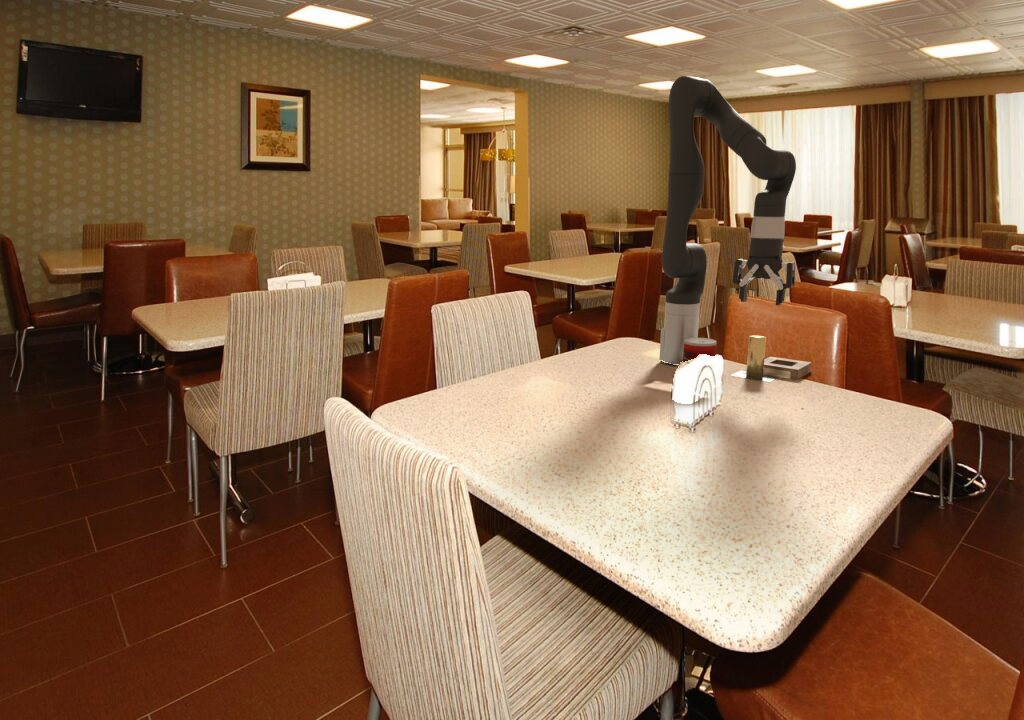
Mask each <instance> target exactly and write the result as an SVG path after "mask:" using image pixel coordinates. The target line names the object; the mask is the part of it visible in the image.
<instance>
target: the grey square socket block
mask: <svg viewBox="0 0 1024 720" xmlns="http://www.w3.org/2000/svg"><path fill="white" fill-rule="evenodd" d="M811 371H812V362H811V361H805V360H798V359H797V360H796V359H790V358H784V357H775V356H769V357H767V358H766V357H765V359H764V370H763V374H764V375H771V376H777V377H779V378H781V379H783V378H784V379H791V380H796V381H797V380H800V379H802V378H803V377H805V376H806V375H808V374H810V373H811Z"/></svg>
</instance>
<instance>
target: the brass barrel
mask: <svg viewBox="0 0 1024 720" xmlns="http://www.w3.org/2000/svg"><path fill="white" fill-rule="evenodd" d="M766 346H767V336H763V335H749V336H748V349H747V360H746V361H747V362H746V376H747V377H750V378H763V370H764V359H766V357H765V356H766V348H767V347H766Z"/></svg>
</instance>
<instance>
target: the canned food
mask: <svg viewBox="0 0 1024 720" xmlns="http://www.w3.org/2000/svg"><path fill="white" fill-rule="evenodd" d="M717 345H718V344H717V340H715V339H712V338H707V337H698V338H688V339H685V340H684V349H683V362H685V361H688V360H691V359H694V358H696V357H697V356H698V355H699V354H707V355H710V356H715V355H716V356H717Z"/></svg>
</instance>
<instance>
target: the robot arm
mask: <svg viewBox="0 0 1024 720" xmlns="http://www.w3.org/2000/svg"><path fill="white" fill-rule="evenodd" d="M668 111H669V112H668V117H669V135H670V136H669V138H670V140H669V141H670V142H669V168H668V180H667V181H668V182H667V183H668V184H667V185H668V187H667V206H666V207H667V209H666V220H665V231H664V238H663V242H662V243H663V244H662V250H661V251H662V252H661V268H662V270H663V273H664V275H666V277H668V278H671V279H678V281H677V283H676V284H675V285H674V286H673V287H672V288H670V289H669V290H668V291H666V294H665V305H664V308H665V309H664V325H663V326H664V327H663V328H662V327H661V329H660V344H659V359H658V360H663V361H665V362H668V363H671V364H680V362H682V361H683V349H684V340H685V339H688V338H699V337H698V336H699V321H700V320H699V319H700V305H701V297H702V295H703V293H704V289H705V282H706V276H707V275H706V274H707V263H708V262H707V261H708V260H707V258H708V257H707V253H706V250H705V248H704V246H702V245H701V244H699V243H693V242H692V243H690V242H689V243H687V235H688V227H689V225H690V222H691V220H692V217H693V215H694V213H695V212H696V209H697V207H698V206H699V204H700V203H701V200H702V199H703V195H704V190H705V173H706V172H705V171H706V168H705V163H704V162H705V161H704V159H703V157H702V153H701V151H700V148H699V146H698V144H697V141H696V137H695V130H694V127H695V126H694V125H695V123H694V122H695V117H701V118H703V119H705V120H707V121H708V122H710V123H711V124H713V125H714V127H715V128H716V129H717V130H718V133H719V136H720V138H721V140H722V141H723V142H724V144H725V145H726V146H727V147H728V148H729V149H730V150H732V152H734V153H735V154H736V155H737V156H738V157H740V159H742V162H743V164H744V165H745V167H746V168H747V169H748V171H749V172H750V174H752V175H753V176H754V177H755V178H757V179H759V180H762V181H767V182H766V185H765V187H764V190H763V191H760V192H758V193H757V194H756V196H755V198H754V203H753V204H754V205H753V206H754V207H753V216H752V221H751V229H750V237H749V238H750V239H749V251H748V258H747V259H743V258H739V259H738V258H737V259H735V261H734V268H733V274H732V283H733V284H736V285H738V286H739V290H738V291H739V293H738V299H739V300H740V302H742V303H744V302H745V303H746V302H747V301H748V294H749V293H748V290H749V286H748V285H749V283H750V282H751V281H752V280H754V278H755V279H764V280H770V279H771V280H772V282H773V283H774V284H775V286H776V287H777V290H776V297H775V305H776V306H782V304H783V303H784V302H785V298H786V291H787V289H790V288H793V287H795V283H796V279H795V278H796V262H795V261H790V262H783V249H784V248H783V247H784V239H785V234H786V232H785V230H786V227H785V226H786V223H785V220H786V219H785V218H786V217H785V216H786V205H787V198H788V196H789V193H790V190H791V188H792V184H793V182H794V180H795V179H794V178H795V175H796V170H797V163H796V157H795V156H794V153H792V152H791V151H789V150H786V149H779V148H778V149H777V148H771V147H769V146H768V145H767V139H766V137H765V135H764V134H763V133H762V132H761V131H760V130H759V129H757V128H756V127H755V126H753V125H752V124H751V123H750V122H749V121H748V120H746V119H745V118H744V117H742V115H740V113H738V112H737V111H736V110H735V109H734V107H733V106H732V105H731V104H730V103H729V101H727V100H726V98H725V97H724V96H723V94H722V93H721V92H720V90H719V89H718V88H717V86H716V85H714V83H713V82H712V81H710V80H709V79H706V78H703V77H696V76H691V75H681V76H679V77H678V78H676V79H675V80H674V81H673V83H672V85H671V88H670V91H669V97H668ZM745 267H747V269H748V270H749V271H748V272H747V273H746V274H745V275H744V277H743V269H744V268H745ZM782 268H783V269H784V272H786V273H785V274H786V276H785V278H786V279H785V280H786V281H785V280H784V279H783V276H782V275H781V274H780V270H782ZM742 277H743V278H742Z"/></svg>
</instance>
